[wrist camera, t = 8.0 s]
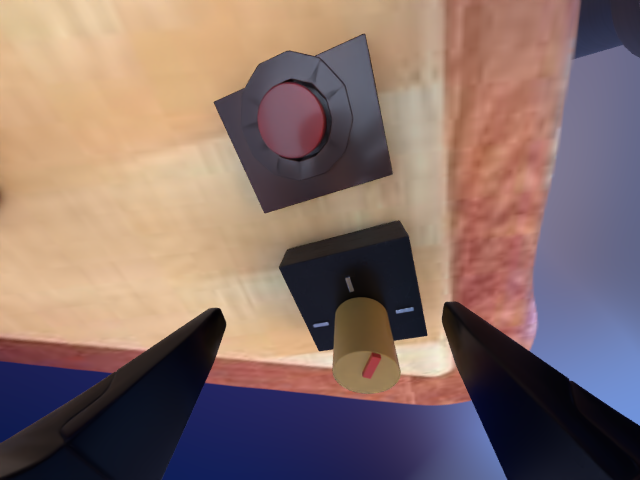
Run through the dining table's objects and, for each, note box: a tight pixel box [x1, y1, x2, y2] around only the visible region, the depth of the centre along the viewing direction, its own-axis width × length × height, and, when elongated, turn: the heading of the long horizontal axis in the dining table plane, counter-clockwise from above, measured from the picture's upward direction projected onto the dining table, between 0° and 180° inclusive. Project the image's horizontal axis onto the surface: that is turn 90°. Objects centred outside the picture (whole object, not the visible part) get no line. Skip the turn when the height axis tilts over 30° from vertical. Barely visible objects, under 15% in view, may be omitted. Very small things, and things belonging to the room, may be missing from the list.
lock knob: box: [332, 297, 401, 394], centre depth 17 cm, size 4×4×5 cm
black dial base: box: [279, 221, 427, 351], centre depth 20 cm, size 10×11×3 cm
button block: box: [214, 34, 393, 213], centre depth 15 cm, size 10×8×3 cm
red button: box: [257, 82, 326, 159], centre depth 13 cm, size 4×4×2 cm
